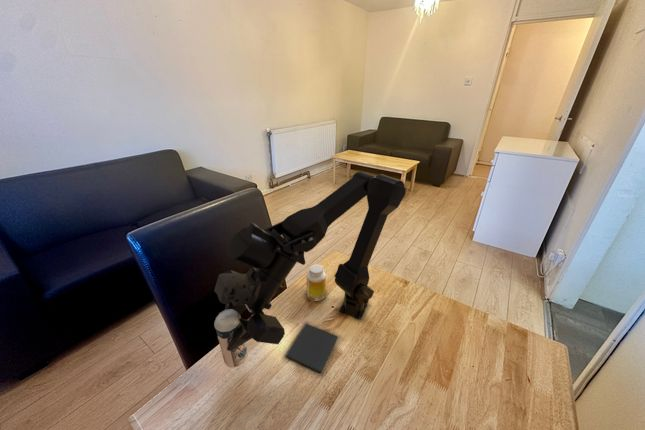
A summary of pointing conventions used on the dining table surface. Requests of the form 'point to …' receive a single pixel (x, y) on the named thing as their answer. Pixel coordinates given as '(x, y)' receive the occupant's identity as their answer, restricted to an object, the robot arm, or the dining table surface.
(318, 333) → the can mat
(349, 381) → the dining table surface
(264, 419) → the dining table surface
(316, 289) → the supplement bottle
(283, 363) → the dining table surface
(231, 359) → the beer can
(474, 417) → the dining table surface
